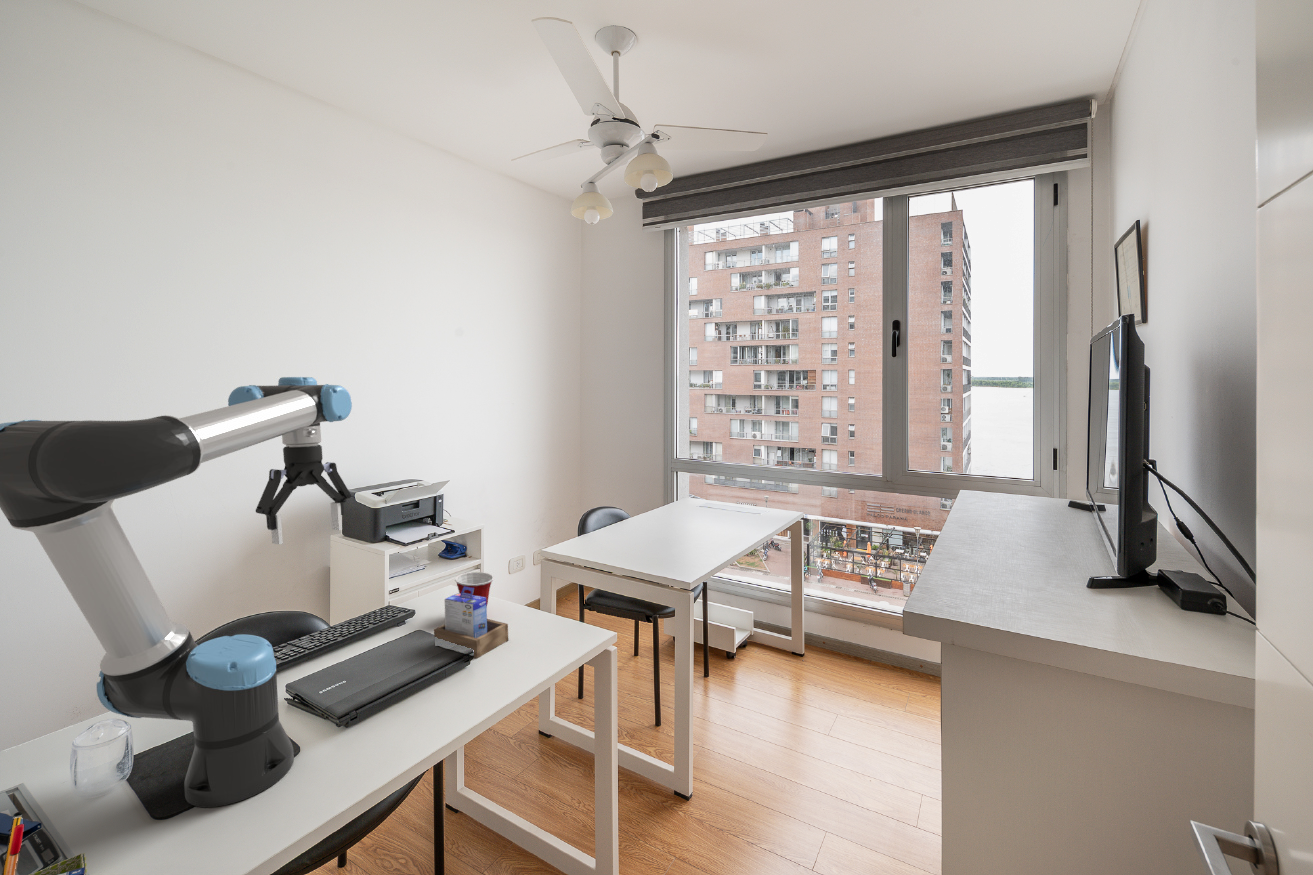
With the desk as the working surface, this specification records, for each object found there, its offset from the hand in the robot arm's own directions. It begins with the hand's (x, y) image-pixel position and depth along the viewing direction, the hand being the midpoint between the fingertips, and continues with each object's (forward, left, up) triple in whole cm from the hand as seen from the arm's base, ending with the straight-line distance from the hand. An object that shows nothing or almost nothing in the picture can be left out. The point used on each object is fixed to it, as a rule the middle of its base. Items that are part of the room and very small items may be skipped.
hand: (308, 536), depth 130 cm
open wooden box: (-5, -35, -33) cm, 48 cm away
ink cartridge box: (-4, -34, -33) cm, 47 cm away
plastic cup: (+12, -40, -33) cm, 53 cm away
